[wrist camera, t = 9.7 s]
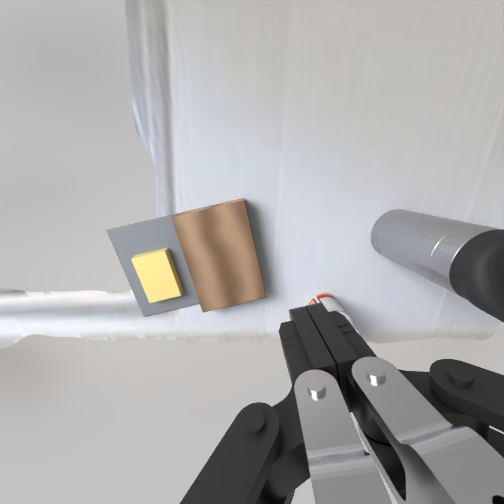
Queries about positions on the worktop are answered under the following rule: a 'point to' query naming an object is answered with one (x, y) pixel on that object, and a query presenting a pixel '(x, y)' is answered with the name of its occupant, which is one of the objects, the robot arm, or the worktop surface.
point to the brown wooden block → (220, 254)
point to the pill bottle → (330, 305)
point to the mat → (147, 240)
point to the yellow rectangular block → (157, 275)
